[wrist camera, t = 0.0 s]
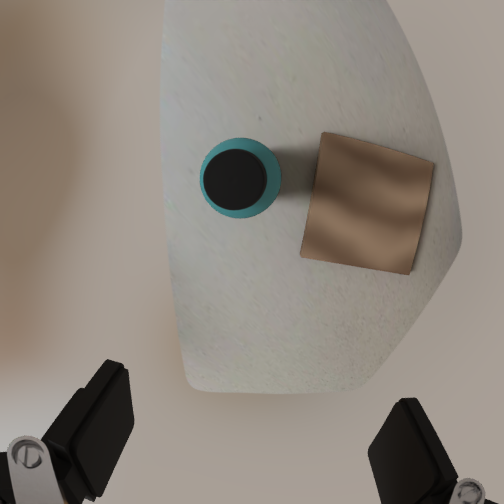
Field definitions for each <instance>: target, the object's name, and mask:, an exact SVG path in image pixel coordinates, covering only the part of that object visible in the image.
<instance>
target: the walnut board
mask: <svg viewBox="0 0 504 504" xmlns="http://www.w3.org/2000/svg"><path fill="white" fill-rule="evenodd" d="M433 165H434V163H431V162H429V161H426V160H423V159H420V158H417V157H414V156H411V155H408V154H405V153H401V152H398V151H395V150H392V149H388V148H385V147H382V146H378V145H374V144H371V143H367V142H363V141H360V140H356V139H352V138H348V137H344V136H340V135H335V134H331V133H327V132H323V133H322V135H321V141H320V147H319V154H318V160H317V166H316V171H315V177H314V183H313V188H312V194H311V200H310V205H309V210H308V216H307V221H306V226H305V231H304V236H303V241H302V246H301V251H300V256H301V257H303V258H309V259H315V260H321V261H327V262H333V263H339V264H345V265H351V266H357V267H363V268H369V269H375V270H381V271H387V272H392V273H398V274H404V275H409V274H410V271H411V267H412V264H413V260H414V256H415V253H416V249H417V245H418V241H419V237H420V233H421V228H422V224H423V220H424V215H425V210H426V205H427V200H428V195H429V189H430V184H431V178H432V171H433Z"/></svg>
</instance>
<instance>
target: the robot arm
mask: <svg viewBox="0 0 504 504" xmlns="http://www.w3.org/2000/svg"><path fill="white" fill-rule="evenodd" d="M133 426H134V414H133V407H132V399H131V391H130V383H129V372H128V369H125V368H124V365H123V364H122V363H119V362H115V361H112V360H109V359H107V360H106V361H105V362H104V363H103V364H102V366H101V367H100V368H99V369H98V371H97V372H96V373H95V375H94V376H93V377H92V379H91V380H90V381H89V383H88V384H87V385H86V387H85V388H80V389H78V390H77V391H76V393H75V394H74V395H73V396H72V398H71V399H70V400H69V402H68V403H67V404H66V406H65V407H64V408H63V410H62V411H61V413H60V414H59V415H58V417H57V418H56V419H55V421H54V422H53V423H52V425H51V426H50V428H49V429H48V430H47V432H46V433H45V435H44V436H43V437H42V439H41V440H39V439H38V438H35V437H32V436H21V437H18V438H16V439H14V440H13V441H12V442H11V443H10V444H9V447H8V449H7V452H0V504H82V502H83V500H84V498H85V499H88V500H90V501H92V502H94V501H95V499H96V497H101V496H102V494H103V493H104V490H105V488H106V486H107V484H108V481H109V479H110V477H111V475H112V473H113V470H114V468H115V466H116V464H117V461H118V459H119V457H120V455H121V453H122V451H123V449H124V446H125V444H126V442H127V440H128V438H129V436H130V434H131V432H132V429H133ZM368 457H369V461H370V464H371V468H372V471H373V475H374V478H375V482H376V485H377V489H378V493H379V496H380V500H381V504H498V503H495V502H492V501H490V500H487V499H485V491H484V488H483V486H482V484H480V483H479V482H478V481H476V480H474V479H470V478H466V479H463V480H461V481H459V482H457V480H456V479H457V478H458V475H457V473H456V471H455V469H454V467H453V465H452V463H451V461H450V459H449V457H448V455H447V453H446V451H445V449H444V447H443V445H442V443H441V441H440V439H439V437H438V436H437V433H436V432H435V430H434V428H433V426H432V424H431V422H430V421H429V419H428V417H427V415H426V413H425V412H424V410H423V408H422V406H421V404H420V403H419V401H418V399H417V398H401V399H400V400H399V402H397V403H395V405H394V406H393V408H392V410H391V412H390V414H389V415H388V417H387V419H386V421H385V422H384V424H383V426H382V428H381V429H380V431H379V432H378V434H377V435H376V437H375V439H374V440H373V442H372V444H371V445H370V446H369V449H368Z"/></svg>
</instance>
